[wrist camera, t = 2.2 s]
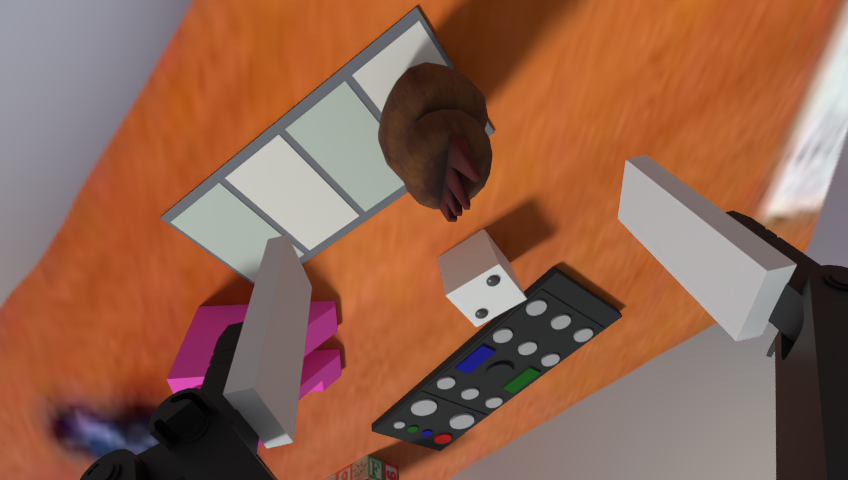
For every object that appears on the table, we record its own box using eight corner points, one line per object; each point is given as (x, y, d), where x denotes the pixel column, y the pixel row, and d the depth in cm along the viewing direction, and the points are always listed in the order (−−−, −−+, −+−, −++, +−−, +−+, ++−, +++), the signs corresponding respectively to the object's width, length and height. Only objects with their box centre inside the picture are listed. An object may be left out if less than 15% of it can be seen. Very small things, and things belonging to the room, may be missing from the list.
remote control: (371, 420, 52) (372, 435, 50) (551, 262, 40) (559, 276, 38) (438, 440, 57) (440, 455, 55) (615, 306, 45) (625, 319, 43)
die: (483, 227, 36) (499, 264, 32) (509, 262, 38) (527, 300, 34) (436, 257, 37) (445, 296, 33) (464, 288, 40) (476, 328, 36)
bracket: (224, 376, 43) (192, 480, 35) (199, 305, 37) (152, 410, 29) (341, 368, 44) (337, 466, 36) (335, 299, 38) (328, 397, 30)
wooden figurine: (407, 34, 26) (449, 113, 14) (482, 77, 28) (576, 178, 16) (364, 128, 29) (366, 260, 17) (434, 160, 31) (481, 298, 19)
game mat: (416, 6, 25) (416, 6, 25) (493, 131, 30) (494, 132, 30) (160, 216, 31) (159, 218, 31) (262, 290, 37) (262, 291, 36)
